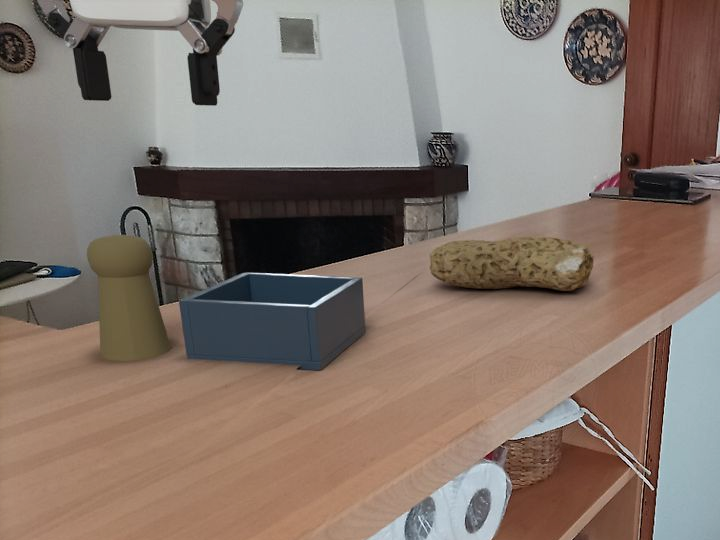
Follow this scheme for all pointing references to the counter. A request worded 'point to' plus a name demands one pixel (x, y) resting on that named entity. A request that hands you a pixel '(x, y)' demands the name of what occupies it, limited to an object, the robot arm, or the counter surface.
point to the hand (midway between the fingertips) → (151, 102)
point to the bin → (274, 319)
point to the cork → (127, 299)
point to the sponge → (513, 263)
